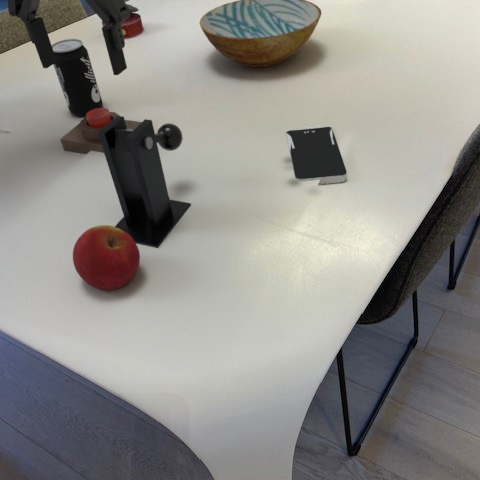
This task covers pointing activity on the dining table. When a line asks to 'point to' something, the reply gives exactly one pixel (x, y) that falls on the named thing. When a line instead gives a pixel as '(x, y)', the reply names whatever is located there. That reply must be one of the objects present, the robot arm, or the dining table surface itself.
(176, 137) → the black ball lever
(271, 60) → the bowl
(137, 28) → the canned food
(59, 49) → the beverage can
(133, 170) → the black lever stand
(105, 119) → the button
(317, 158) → the smartphone
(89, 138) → the button block
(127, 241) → the apple
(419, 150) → the dining table surface
